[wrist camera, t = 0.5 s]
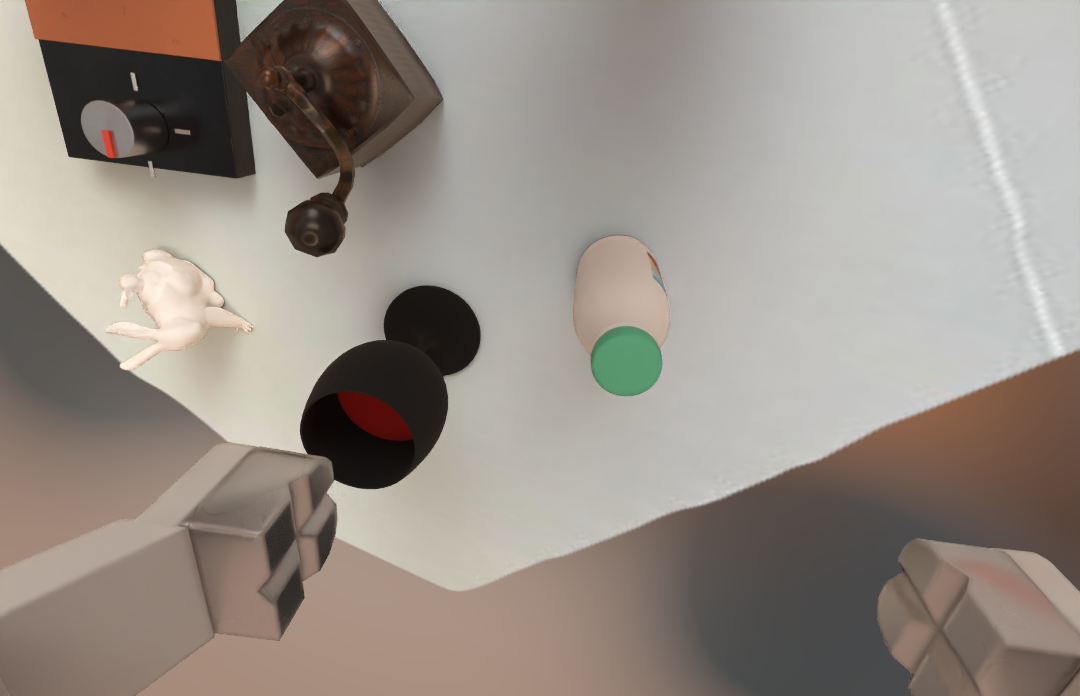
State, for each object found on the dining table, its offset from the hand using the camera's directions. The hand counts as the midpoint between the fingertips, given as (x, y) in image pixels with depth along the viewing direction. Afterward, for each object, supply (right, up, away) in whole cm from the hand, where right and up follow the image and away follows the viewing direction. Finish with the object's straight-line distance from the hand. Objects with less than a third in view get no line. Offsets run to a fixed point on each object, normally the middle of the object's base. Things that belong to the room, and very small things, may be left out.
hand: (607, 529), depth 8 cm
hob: (-35, +28, +41) cm, 61 cm away
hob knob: (-36, +22, +40) cm, 58 cm away
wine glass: (-12, +4, +50) cm, 52 cm away
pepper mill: (-15, +24, +41) cm, 50 cm away
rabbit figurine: (-38, +8, +51) cm, 64 cm away
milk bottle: (+7, +10, +45) cm, 47 cm away
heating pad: (-35, +31, +36) cm, 59 cm away
